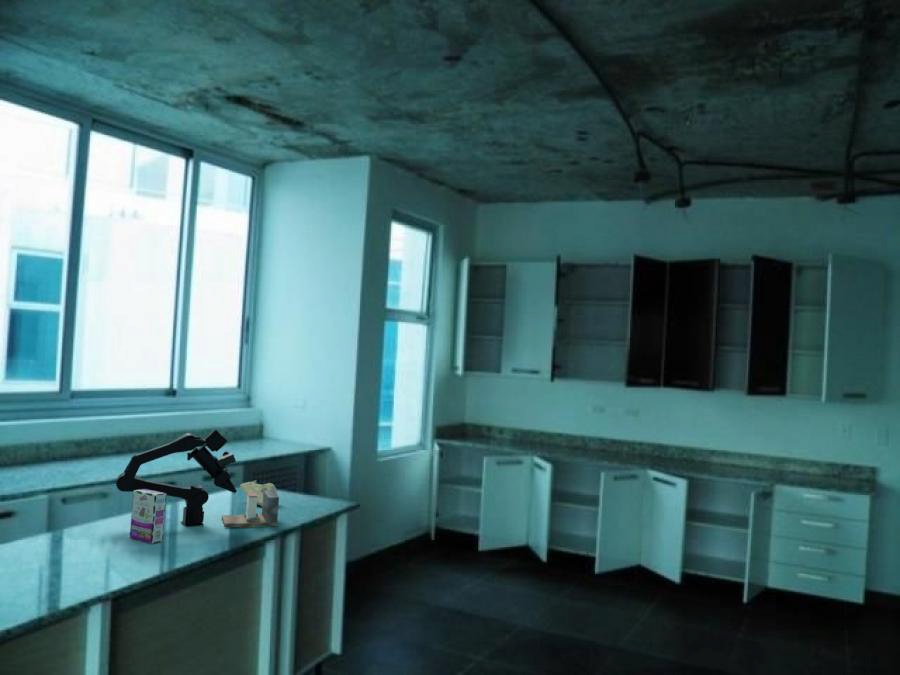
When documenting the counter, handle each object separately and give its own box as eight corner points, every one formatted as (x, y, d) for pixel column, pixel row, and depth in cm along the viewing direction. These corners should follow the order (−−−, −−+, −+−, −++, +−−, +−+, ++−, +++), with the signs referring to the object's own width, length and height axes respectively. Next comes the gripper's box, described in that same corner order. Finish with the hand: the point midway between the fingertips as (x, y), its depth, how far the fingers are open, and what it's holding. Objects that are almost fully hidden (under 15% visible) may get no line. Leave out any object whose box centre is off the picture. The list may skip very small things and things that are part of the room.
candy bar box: (163, 541, 245) (167, 492, 245) (151, 544, 241) (155, 495, 241) (141, 535, 250) (144, 487, 250) (128, 538, 246) (132, 489, 246)
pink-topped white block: (247, 520, 274) (249, 495, 274) (245, 516, 279) (247, 492, 280) (255, 520, 275) (257, 495, 275) (253, 516, 281) (255, 492, 281)
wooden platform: (224, 527, 267) (226, 497, 268) (221, 519, 280) (223, 490, 280) (276, 526, 275) (279, 497, 275) (271, 518, 287) (273, 490, 287)
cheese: (280, 511, 307) (279, 483, 319) (275, 501, 303) (274, 473, 314) (245, 520, 306) (244, 492, 318) (239, 510, 302) (239, 482, 313)
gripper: (226, 449, 265) (254, 480, 269) (221, 442, 282) (248, 470, 286) (201, 470, 262) (230, 501, 265) (198, 462, 279) (226, 490, 283)
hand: (234, 490), depth 275 cm, fingers open, 7 cm apart
